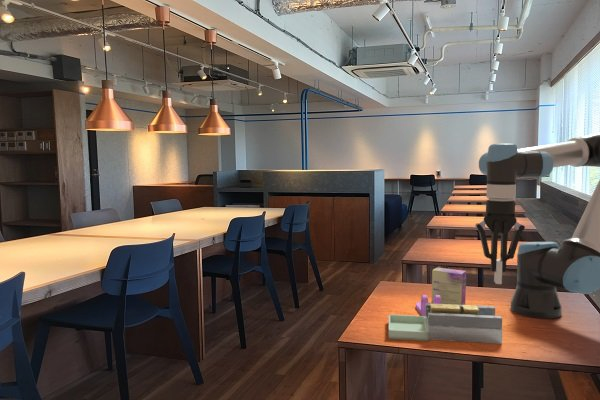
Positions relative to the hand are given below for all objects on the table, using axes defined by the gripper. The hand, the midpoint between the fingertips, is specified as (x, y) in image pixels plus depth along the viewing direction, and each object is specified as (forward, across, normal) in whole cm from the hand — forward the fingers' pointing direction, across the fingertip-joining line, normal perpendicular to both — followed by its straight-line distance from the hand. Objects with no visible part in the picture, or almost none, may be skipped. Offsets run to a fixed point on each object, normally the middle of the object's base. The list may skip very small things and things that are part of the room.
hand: (497, 282), depth 137 cm
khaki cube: (+12, +16, 0) cm, 20 cm away
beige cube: (+12, +7, 0) cm, 14 cm away
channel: (+16, +9, 0) cm, 18 cm away
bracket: (+16, +18, -20) cm, 31 cm away
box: (+16, +10, -30) cm, 35 cm away
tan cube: (+12, +12, 0) cm, 17 cm away
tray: (+16, +25, 0) cm, 29 cm away
